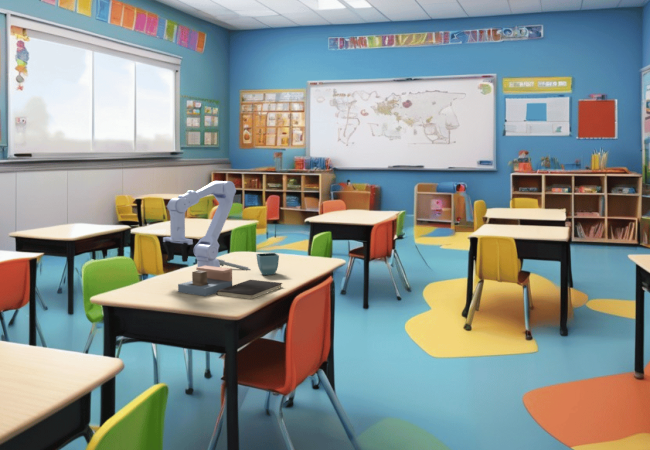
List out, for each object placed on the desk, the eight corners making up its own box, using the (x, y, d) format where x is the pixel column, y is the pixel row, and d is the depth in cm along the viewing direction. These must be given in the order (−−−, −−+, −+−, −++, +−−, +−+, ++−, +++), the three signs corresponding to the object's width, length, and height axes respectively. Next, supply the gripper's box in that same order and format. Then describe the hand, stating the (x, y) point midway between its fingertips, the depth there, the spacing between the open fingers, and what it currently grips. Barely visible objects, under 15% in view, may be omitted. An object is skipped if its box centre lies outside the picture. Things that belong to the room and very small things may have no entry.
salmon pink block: (205, 277, 249) (205, 265, 248) (232, 280, 242) (232, 268, 241) (196, 279, 244) (196, 267, 244) (223, 283, 237) (223, 270, 237)
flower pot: (256, 272, 274) (256, 253, 273) (275, 271, 277) (275, 252, 276) (260, 276, 266) (259, 256, 265) (279, 275, 268) (279, 255, 267)
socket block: (206, 284, 249) (205, 277, 249) (232, 288, 242) (232, 280, 242) (178, 291, 236) (178, 284, 235) (205, 296, 229) (205, 288, 228)
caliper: (209, 268, 286) (209, 255, 285) (210, 268, 287) (210, 255, 286) (249, 270, 281) (249, 257, 280) (250, 270, 282) (250, 257, 281)
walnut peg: (199, 290, 239) (199, 270, 238) (207, 291, 237) (206, 271, 236) (192, 292, 236) (192, 271, 235) (200, 293, 234) (199, 272, 233)
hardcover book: (282, 288, 245) (282, 282, 244) (252, 300, 224) (252, 294, 224) (248, 284, 251) (248, 279, 251) (216, 296, 231) (216, 290, 230)
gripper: (157, 227, 245) (157, 260, 246) (183, 229, 237) (184, 263, 239) (170, 225, 251) (170, 258, 252) (196, 228, 244) (196, 261, 245)
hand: (177, 260), depth 246 cm, fingers open, 7 cm apart
